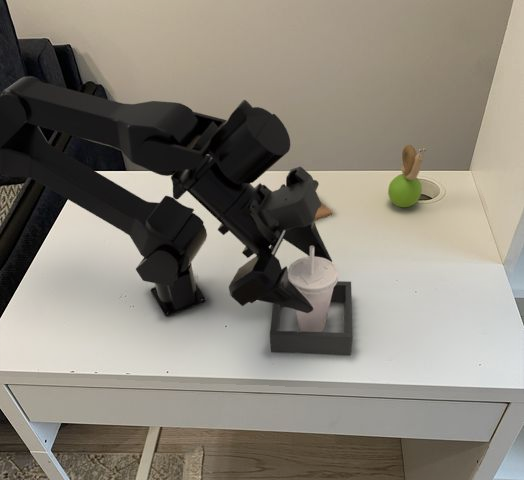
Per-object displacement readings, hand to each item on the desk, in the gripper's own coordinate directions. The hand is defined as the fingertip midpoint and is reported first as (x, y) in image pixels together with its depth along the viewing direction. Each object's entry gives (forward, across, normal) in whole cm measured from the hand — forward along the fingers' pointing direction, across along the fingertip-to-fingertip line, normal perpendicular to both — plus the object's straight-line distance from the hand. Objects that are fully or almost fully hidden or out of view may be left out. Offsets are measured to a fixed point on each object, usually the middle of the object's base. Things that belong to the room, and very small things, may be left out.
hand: (320, 286), depth 70 cm
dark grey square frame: (+4, 0, +6) cm, 8 cm away
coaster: (-3, +26, +13) cm, 29 cm away
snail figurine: (+10, +31, +1) cm, 33 cm away
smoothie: (+5, 0, +6) cm, 8 cm away
